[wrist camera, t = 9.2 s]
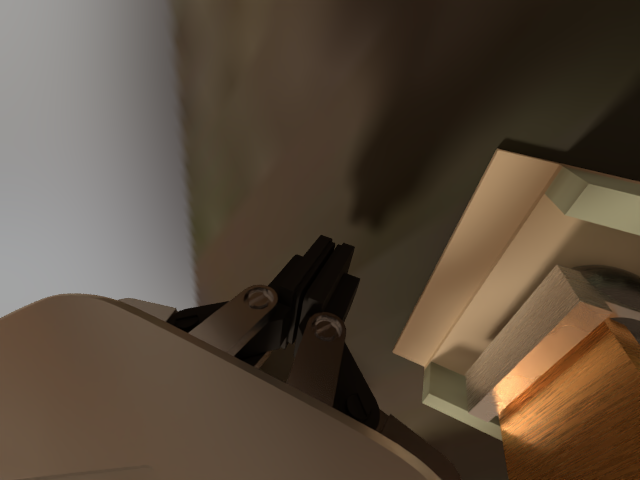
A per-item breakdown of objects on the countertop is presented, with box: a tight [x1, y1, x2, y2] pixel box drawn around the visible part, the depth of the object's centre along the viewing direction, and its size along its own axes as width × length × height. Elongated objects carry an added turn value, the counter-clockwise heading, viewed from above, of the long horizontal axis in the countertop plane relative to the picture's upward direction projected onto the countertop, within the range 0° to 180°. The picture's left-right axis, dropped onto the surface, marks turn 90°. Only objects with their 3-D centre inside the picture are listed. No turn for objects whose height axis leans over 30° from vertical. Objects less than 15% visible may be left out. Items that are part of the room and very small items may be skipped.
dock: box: [393, 149, 640, 441], centre depth 10 cm, size 13×13×4 cm
